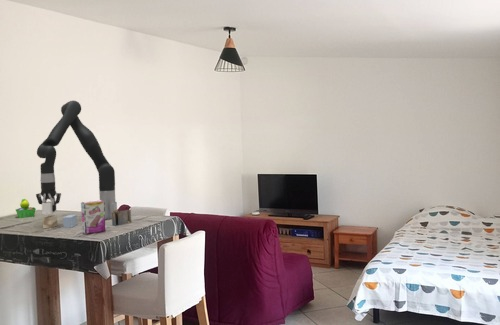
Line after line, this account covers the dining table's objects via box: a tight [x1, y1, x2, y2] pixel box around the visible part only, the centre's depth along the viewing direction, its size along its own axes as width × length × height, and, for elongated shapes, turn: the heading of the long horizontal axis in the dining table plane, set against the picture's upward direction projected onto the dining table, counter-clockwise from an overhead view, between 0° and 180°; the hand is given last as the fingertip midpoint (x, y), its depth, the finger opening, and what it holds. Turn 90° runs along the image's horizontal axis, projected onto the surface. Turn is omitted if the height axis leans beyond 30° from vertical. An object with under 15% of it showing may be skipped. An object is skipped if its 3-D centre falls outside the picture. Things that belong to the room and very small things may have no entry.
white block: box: [41, 200, 57, 215], centre depth 278 cm, size 4×8×6 cm, turn 178°
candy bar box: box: [80, 199, 106, 235], centre depth 260 cm, size 11×5×16 cm, turn 131°
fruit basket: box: [15, 198, 37, 219], centre depth 318 cm, size 11×9×11 cm
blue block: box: [62, 214, 78, 229], centre depth 279 cm, size 4×8×6 cm, turn 178°
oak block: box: [42, 215, 58, 229], centre depth 279 cm, size 4×8×6 cm, turn 178°
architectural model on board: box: [111, 208, 132, 227], centre depth 283 cm, size 11×3×10 cm, turn 144°
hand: (49, 211), depth 279 cm, fingers closed on white block, 4 cm apart
